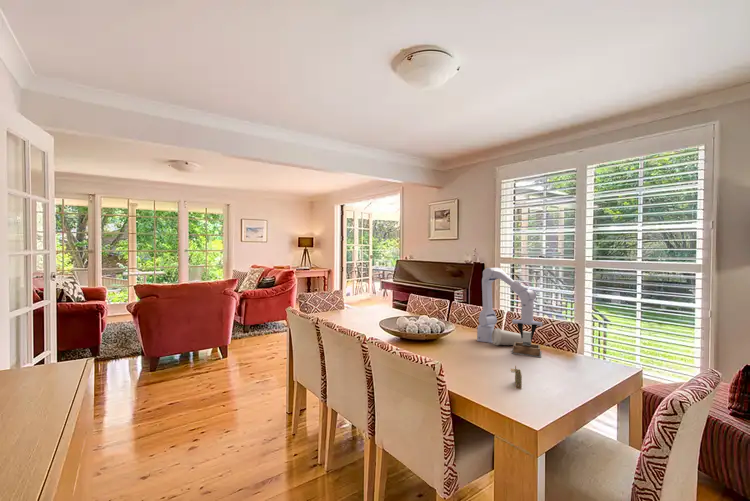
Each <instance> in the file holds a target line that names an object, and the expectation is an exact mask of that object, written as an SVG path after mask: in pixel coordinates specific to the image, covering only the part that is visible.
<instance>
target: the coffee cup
mask: <svg viewBox="0 0 750 501" xmlns="http://www.w3.org/2000/svg"><path fill="white" fill-rule="evenodd" d="M492 342H493V343H492V344H494V345H496V346H500V345H501V346H514V342H519V343H523V338H521V333H520V332H519V333H518V332H513V331H509V330H505V329H501V328H499V327H497V328H494V330H493V331H492Z"/></svg>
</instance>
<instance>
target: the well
mask: <svg viewBox="0 0 750 501" xmlns="http://www.w3.org/2000/svg"><path fill="white" fill-rule="evenodd" d="M512 346H513V348H512V350H513V352H514V353H522V354H529V355H537V356H540V351H541V345H540V344H536V343H535V344H534V343H531V346H525V345H523V342H522V343H519V342H514V345H512Z"/></svg>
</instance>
